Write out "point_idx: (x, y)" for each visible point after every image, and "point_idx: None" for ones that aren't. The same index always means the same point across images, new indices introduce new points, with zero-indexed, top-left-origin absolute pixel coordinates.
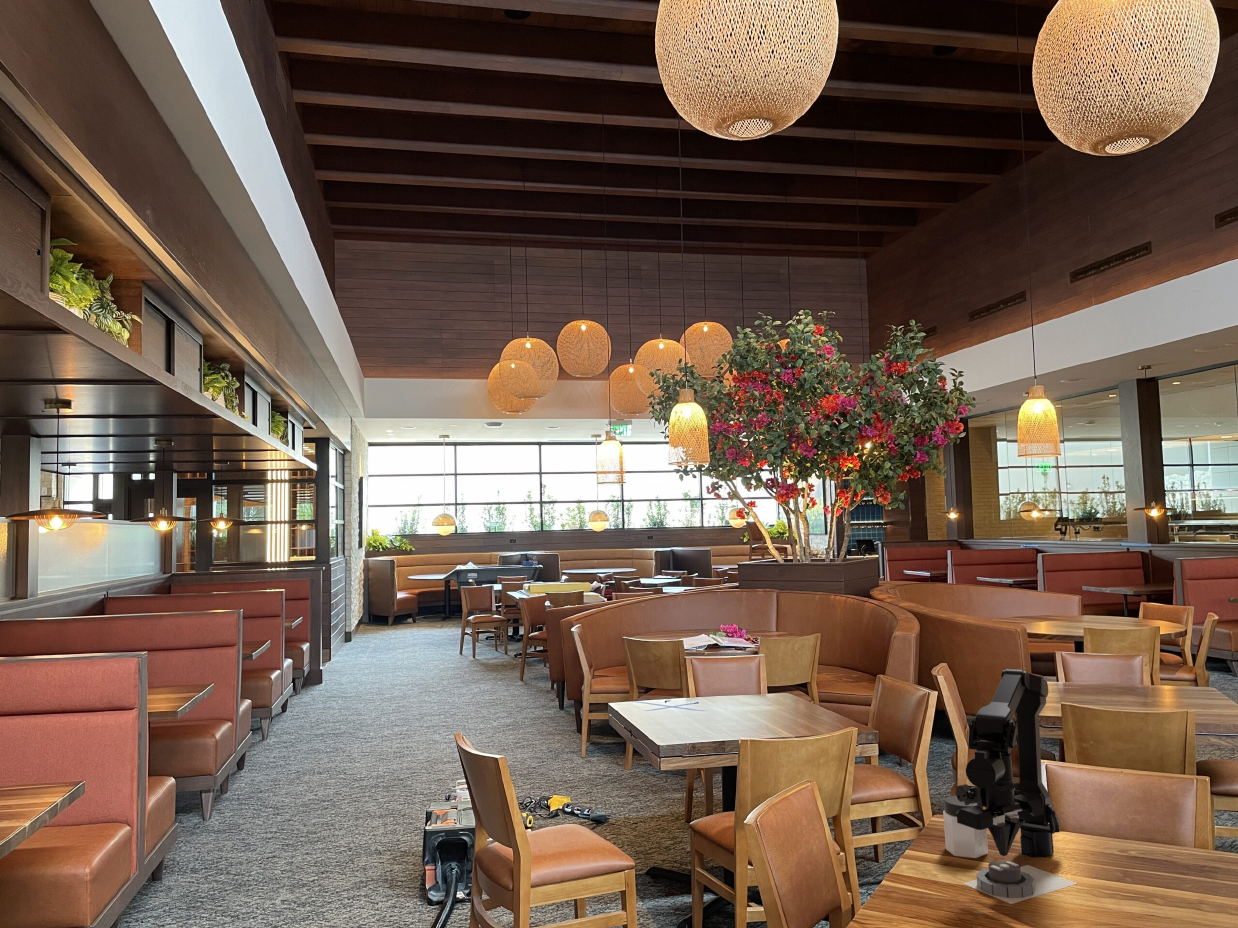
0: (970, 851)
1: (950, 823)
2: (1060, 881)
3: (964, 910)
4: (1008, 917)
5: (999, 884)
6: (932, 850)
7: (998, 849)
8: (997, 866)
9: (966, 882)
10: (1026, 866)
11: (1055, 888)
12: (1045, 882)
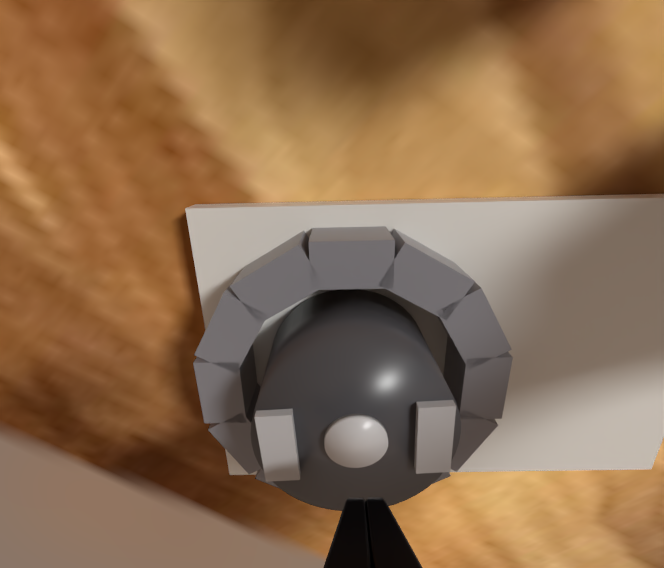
0: None
1: None
2: (620, 424)
3: (46, 387)
4: (172, 492)
5: (245, 438)
6: None
7: (333, 541)
8: (314, 418)
9: (215, 209)
10: None
11: (521, 460)
12: (556, 403)
